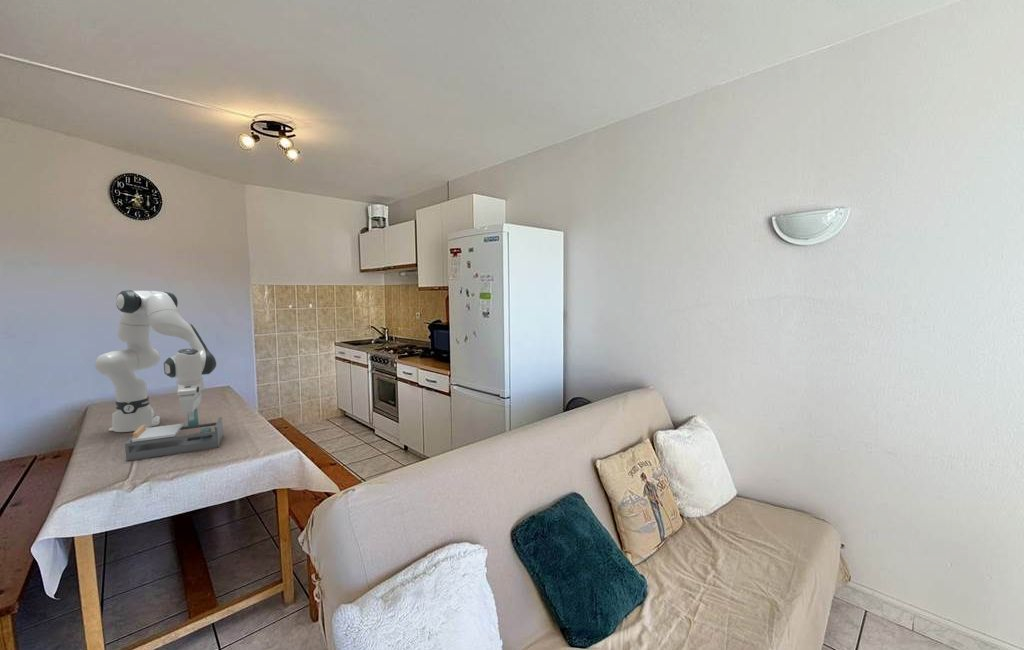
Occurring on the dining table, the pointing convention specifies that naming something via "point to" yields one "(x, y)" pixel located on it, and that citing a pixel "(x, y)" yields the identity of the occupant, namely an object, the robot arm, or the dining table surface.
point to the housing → (176, 442)
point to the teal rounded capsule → (195, 421)
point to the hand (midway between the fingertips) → (192, 418)
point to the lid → (156, 432)
